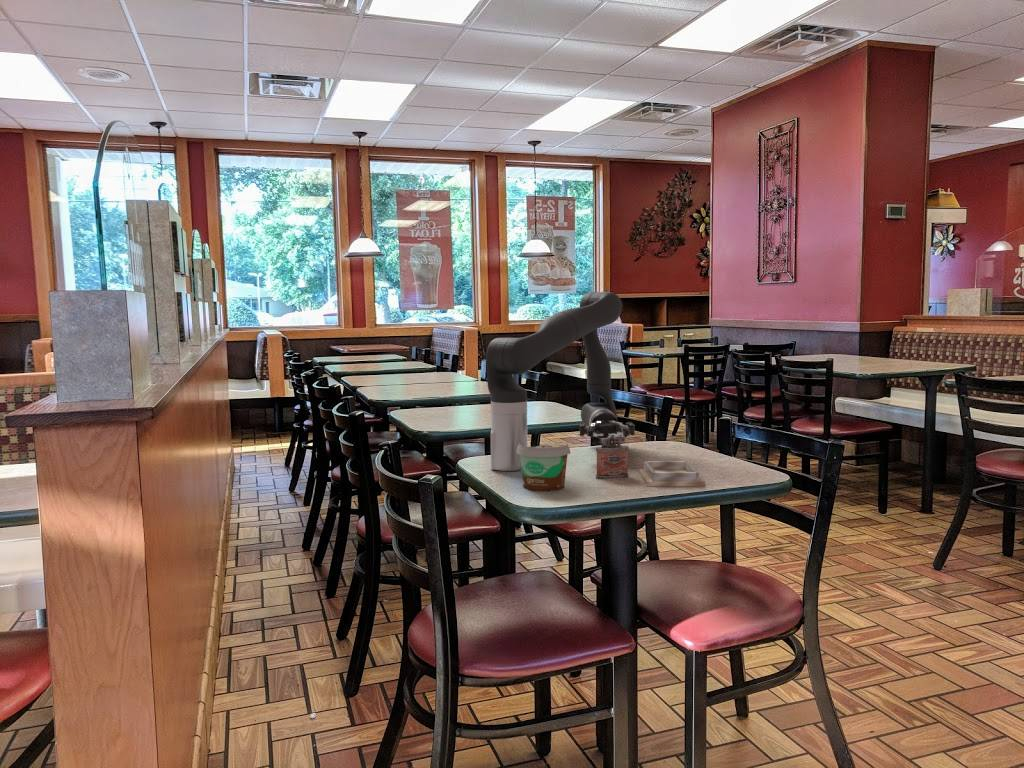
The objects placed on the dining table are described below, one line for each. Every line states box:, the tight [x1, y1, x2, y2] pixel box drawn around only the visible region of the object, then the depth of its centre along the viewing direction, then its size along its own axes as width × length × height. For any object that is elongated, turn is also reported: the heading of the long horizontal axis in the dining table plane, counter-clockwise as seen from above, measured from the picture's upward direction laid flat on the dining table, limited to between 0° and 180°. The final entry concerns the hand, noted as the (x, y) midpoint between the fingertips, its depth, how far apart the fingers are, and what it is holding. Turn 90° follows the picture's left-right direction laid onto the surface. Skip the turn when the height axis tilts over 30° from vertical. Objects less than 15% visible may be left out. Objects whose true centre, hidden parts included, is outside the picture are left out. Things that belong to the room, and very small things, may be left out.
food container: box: [517, 443, 571, 493], centre depth 169 cm, size 12×6×10 cm, turn 76°
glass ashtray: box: [638, 460, 706, 487], centre depth 178 cm, size 13×14×3 cm
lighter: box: [595, 435, 629, 481], centre depth 180 cm, size 8×3×10 cm, turn 104°
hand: (608, 433), depth 191 cm, fingers open, 8 cm apart
